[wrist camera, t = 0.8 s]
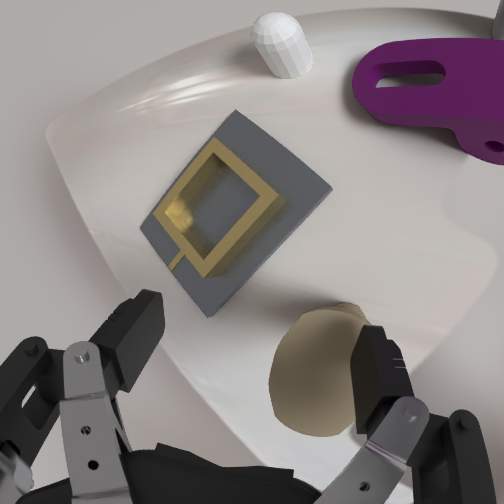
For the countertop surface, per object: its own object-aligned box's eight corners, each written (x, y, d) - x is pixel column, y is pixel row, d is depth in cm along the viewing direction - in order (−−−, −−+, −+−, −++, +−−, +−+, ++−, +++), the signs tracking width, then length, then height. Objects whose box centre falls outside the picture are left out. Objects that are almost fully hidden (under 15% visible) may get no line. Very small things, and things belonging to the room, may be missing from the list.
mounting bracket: (381, 151, 30) (529, 171, 17) (345, 115, 25) (534, 127, 11) (390, 87, 30) (523, 94, 16) (357, 46, 24) (517, 41, 11)
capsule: (260, 67, 30) (232, 26, 23) (290, 40, 29) (267, -3, 21) (292, 86, 29) (268, 42, 21) (322, 58, 27) (306, 11, 20)
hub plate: (239, 113, 31) (225, 99, 28) (333, 189, 27) (327, 179, 23) (145, 228, 35) (125, 225, 32) (212, 316, 31) (194, 321, 28)
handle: (314, 344, 27) (257, 419, 13) (330, 279, 27) (287, 298, 13) (362, 356, 25) (349, 446, 11) (380, 290, 25) (395, 323, 11)
